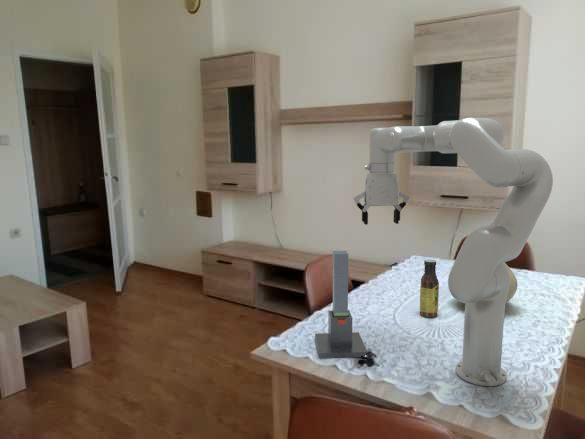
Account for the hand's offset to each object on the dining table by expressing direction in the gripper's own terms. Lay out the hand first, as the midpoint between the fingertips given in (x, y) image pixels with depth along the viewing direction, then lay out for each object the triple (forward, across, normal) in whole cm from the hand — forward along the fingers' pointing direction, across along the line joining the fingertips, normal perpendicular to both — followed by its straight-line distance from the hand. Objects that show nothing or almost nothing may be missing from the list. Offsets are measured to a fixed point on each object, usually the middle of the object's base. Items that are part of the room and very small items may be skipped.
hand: (380, 223), depth 147 cm
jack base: (+36, -14, -10) cm, 40 cm away
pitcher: (+36, +43, +20) cm, 60 cm away
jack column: (+29, -14, -10) cm, 33 cm away
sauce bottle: (+36, +21, +13) cm, 44 cm away
